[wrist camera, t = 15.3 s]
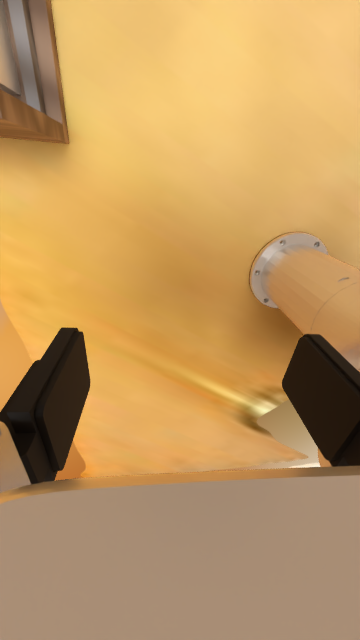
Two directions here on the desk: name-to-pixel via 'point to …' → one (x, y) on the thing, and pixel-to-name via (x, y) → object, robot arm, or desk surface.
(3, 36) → the door panel
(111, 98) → the desk surface
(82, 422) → the desk surface
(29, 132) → the brown wooden book rack
